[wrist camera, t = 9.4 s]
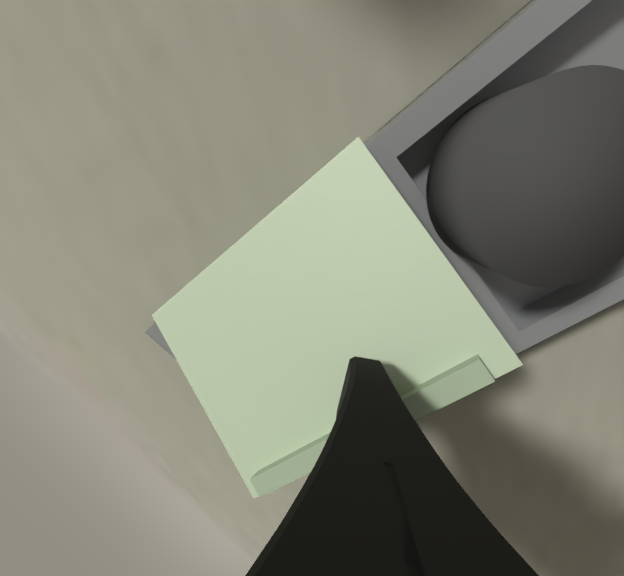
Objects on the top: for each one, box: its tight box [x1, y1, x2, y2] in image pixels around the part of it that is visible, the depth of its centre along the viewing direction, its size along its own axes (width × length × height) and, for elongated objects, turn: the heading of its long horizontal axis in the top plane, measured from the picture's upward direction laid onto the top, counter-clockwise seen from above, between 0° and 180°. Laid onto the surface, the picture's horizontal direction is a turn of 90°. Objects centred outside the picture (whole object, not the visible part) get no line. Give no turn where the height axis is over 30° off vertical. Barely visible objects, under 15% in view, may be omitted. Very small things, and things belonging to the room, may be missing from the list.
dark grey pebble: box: [426, 65, 624, 288], centre depth 10 cm, size 5×5×2 cm
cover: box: [152, 137, 523, 498], centre depth 11 cm, size 7×9×1 cm
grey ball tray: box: [145, 0, 624, 359], centre depth 12 cm, size 9×20×2 cm, turn 130°
